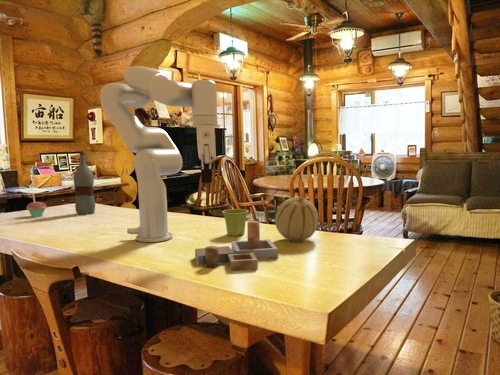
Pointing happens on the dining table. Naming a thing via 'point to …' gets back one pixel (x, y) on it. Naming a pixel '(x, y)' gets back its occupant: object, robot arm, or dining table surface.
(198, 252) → the grey rectangular block
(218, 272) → the dining table surface
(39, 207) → the cupcake
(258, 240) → the dowel
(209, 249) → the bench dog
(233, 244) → the tray
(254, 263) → the socket block
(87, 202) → the bottle
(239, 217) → the plant pot
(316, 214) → the cantaloupe
